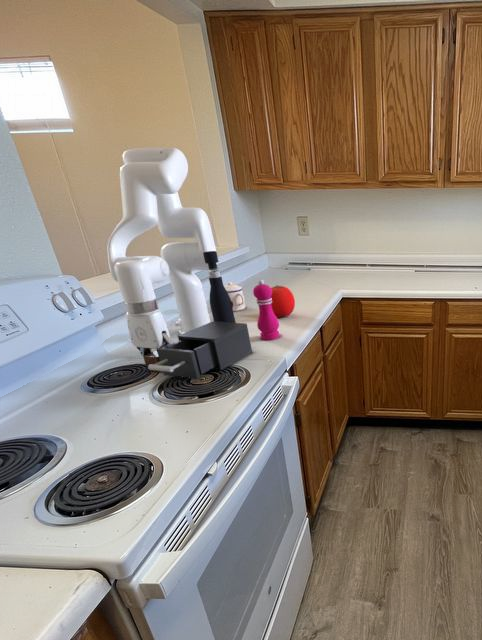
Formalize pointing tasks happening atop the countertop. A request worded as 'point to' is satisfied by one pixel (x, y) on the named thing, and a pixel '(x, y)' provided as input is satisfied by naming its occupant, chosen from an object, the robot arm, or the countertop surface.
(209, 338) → the cabinet
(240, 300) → the teacup with lid
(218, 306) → the wine bottle
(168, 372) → the drawer
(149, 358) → the block
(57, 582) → the countertop surface
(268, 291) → the pepper mill
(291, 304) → the tomato
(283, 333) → the countertop surface
